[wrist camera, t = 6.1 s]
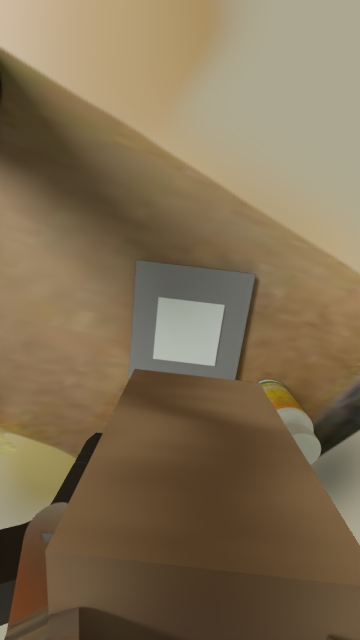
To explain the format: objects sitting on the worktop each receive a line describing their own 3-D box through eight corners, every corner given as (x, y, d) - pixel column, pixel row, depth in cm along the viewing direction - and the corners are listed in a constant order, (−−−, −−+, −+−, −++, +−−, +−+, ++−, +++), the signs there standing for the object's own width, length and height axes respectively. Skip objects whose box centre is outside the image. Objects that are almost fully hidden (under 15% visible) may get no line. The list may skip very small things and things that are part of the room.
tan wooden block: (127, 469, 12) (54, 728, 5) (134, 368, 11) (45, 550, 4) (237, 481, 12) (303, 756, 5) (259, 382, 11) (386, 589, 4)
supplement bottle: (293, 400, 31) (338, 459, 22) (259, 418, 32) (288, 482, 23) (274, 371, 30) (314, 418, 21) (239, 390, 31) (262, 444, 22)
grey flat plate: (130, 379, 31) (128, 383, 30) (138, 260, 27) (136, 260, 26) (230, 391, 31) (232, 396, 30) (253, 273, 27) (256, 274, 26)
